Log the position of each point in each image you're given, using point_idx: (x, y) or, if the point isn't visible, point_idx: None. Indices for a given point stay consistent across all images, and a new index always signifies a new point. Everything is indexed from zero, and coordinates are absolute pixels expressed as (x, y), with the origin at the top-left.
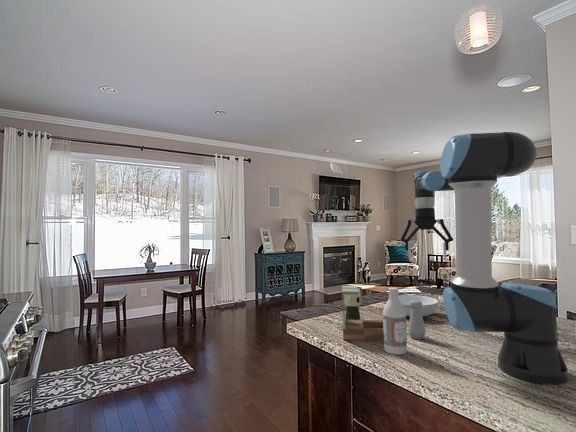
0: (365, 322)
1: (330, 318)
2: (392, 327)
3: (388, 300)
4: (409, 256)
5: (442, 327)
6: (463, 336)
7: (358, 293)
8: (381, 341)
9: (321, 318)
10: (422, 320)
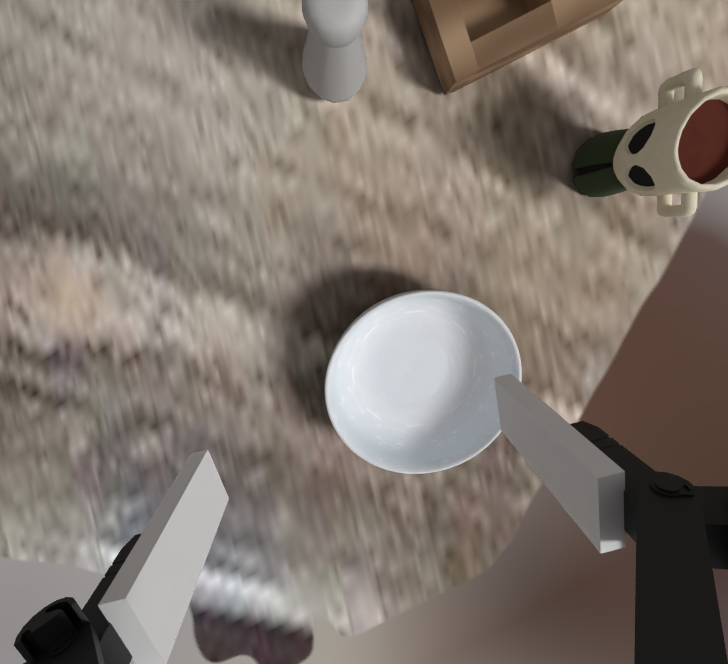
0: (536, 8)
1: None
2: None
3: None
4: (510, 382)
5: (287, 255)
6: (200, 181)
7: (668, 127)
8: None
9: None
10: (307, 41)
